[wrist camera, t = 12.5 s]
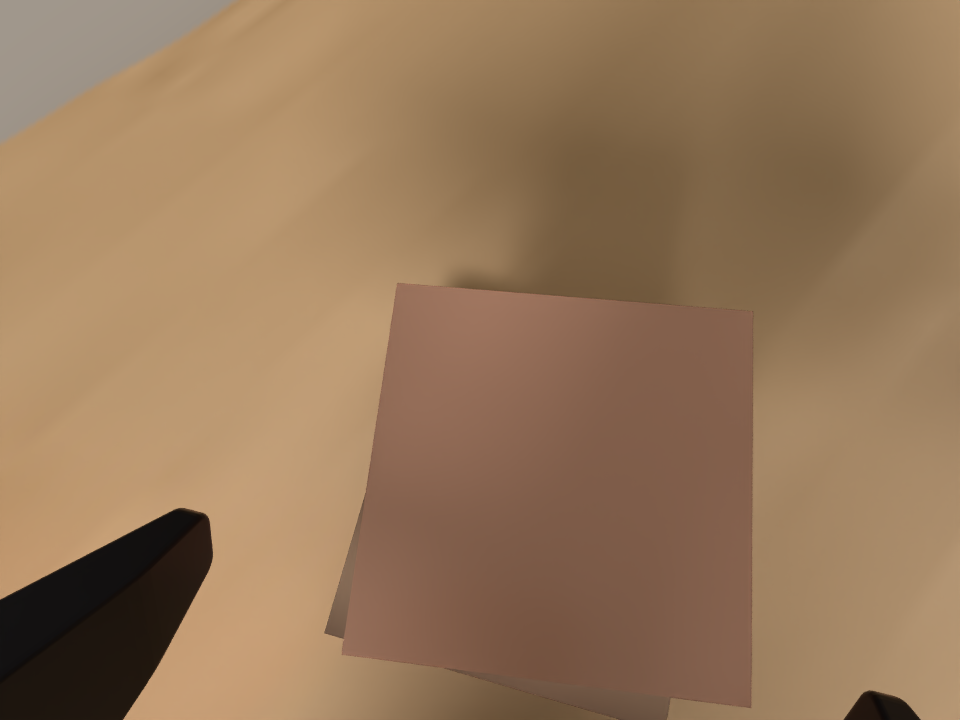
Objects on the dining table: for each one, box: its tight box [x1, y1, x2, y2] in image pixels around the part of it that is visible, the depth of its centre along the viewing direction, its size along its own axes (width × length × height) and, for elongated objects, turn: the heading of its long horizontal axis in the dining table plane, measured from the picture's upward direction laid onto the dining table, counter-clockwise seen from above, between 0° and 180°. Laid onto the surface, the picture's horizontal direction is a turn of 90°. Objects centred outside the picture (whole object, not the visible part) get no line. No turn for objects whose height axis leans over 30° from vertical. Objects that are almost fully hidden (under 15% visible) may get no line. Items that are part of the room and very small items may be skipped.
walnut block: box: [325, 493, 671, 720], centre depth 22 cm, size 10×10×3 cm
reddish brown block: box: [342, 283, 753, 708], centre depth 15 cm, size 6×6×10 cm
